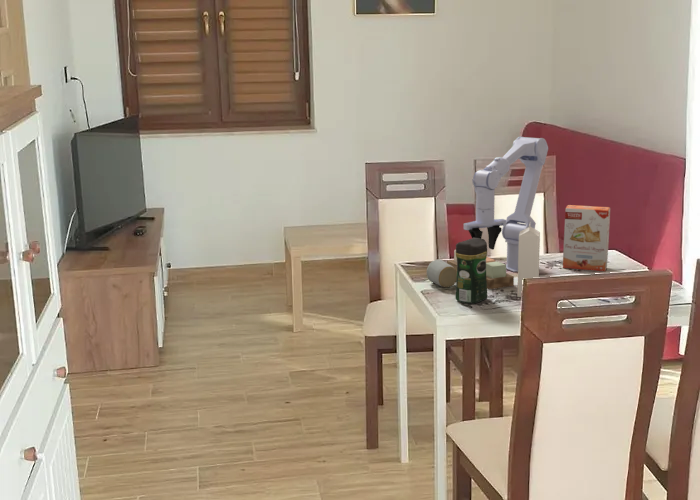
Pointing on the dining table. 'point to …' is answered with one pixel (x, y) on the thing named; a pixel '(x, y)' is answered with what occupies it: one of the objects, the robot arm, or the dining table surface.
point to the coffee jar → (471, 271)
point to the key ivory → (455, 256)
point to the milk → (528, 255)
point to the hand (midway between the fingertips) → (484, 249)
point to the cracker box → (586, 237)
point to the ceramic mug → (441, 273)
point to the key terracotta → (489, 260)
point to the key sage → (495, 269)
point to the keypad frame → (492, 279)
